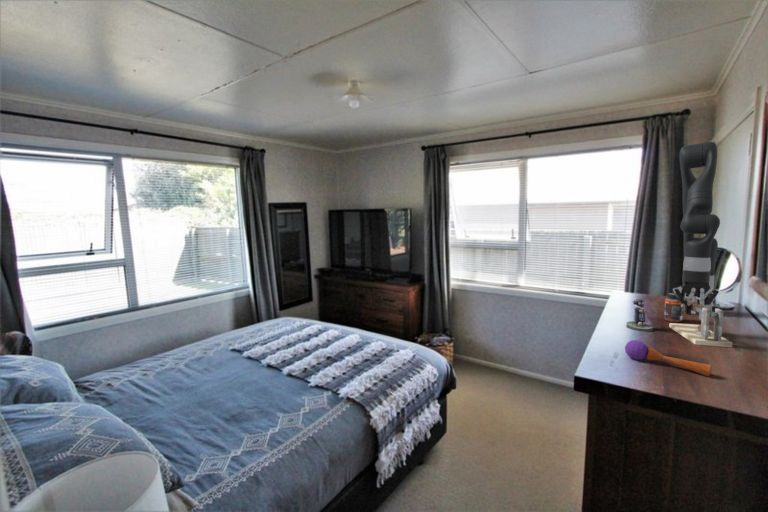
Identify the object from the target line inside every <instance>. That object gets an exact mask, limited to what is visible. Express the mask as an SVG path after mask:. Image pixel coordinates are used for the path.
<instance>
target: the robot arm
mask: <svg viewBox="0 0 768 512" xmlns="http://www.w3.org/2000/svg"><path fill="white" fill-rule="evenodd" d="M678 157H679V166H680V175H681V176H680V177H681V183H682V214H683V217H682V219H681V221H680V230H681V231H682V233H683V254H684V259H683V264H682V265H683V266H682V267H683V268H682V277H681V278H682V283H681V284H680V286H678V287H672V289H671V290H672V293H674V294H675V296H676V298H677V300H678V301H679V302H680V303H682V304H683V312H684V314H685V315H687V316H691V315H695V316H698V317H699V312H694V311H692V310H691V306H690V305H691V302H692V301H694V302H696V303H699V304H701V305H703V307H704V308H706V309H708V310H710V311H713V301H714V300H715V298H716V297H717V295H719V290H717V289H714V288H715V273H716V261H717V254H718V248H719V246H718V241H717V239H716V238H715V236H716V234H717V232H718V230H719V227H720V224H721V220H720V217H719V216H718V215H716V214H713V213H712V212H713V204H714V203H713V201H714V200H713V189H714V188H713V187H714V182H715V176H716V171H717V163H718V147H717V144H716V142H715V141H707V142H701V143H700V142H699V143H693V144H688V145H684V146H682V147H681V148H680V150H679V155H678ZM697 168H704V170H703V171H702V173H701V174H700V175H699V177H698V178H696V177H695V175H694V173H693V170H692V169H697ZM695 235H704V236H703V237H695ZM682 291H683V293H684V297H683V295H682Z"/></svg>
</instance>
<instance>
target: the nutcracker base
mask: <svg viewBox="0 0 768 512" xmlns="http://www.w3.org/2000/svg"><path fill="white" fill-rule="evenodd" d="M714 312H715V313H718V317H714V323H713V331H712V330H711V329H710V318H711V317H710V310H708V309H706V308H702V320H700V321H701V322H700V324H690V323H677V322H670V323H669V326H668V327H669V328H670V329H672V330H673V331H674V332H676V333H678V334H679V335H681V336H682V337H683V338H685V339H686V340H687V341H689V342H691V343H692V344H694V345H698V346H713V347H724V348H725V347H727V348H733V342H732V341H731V340H728V339H727V338H725V337H723V336H722V334H723V322H724V310H722V309H720V308H714Z"/></svg>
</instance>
